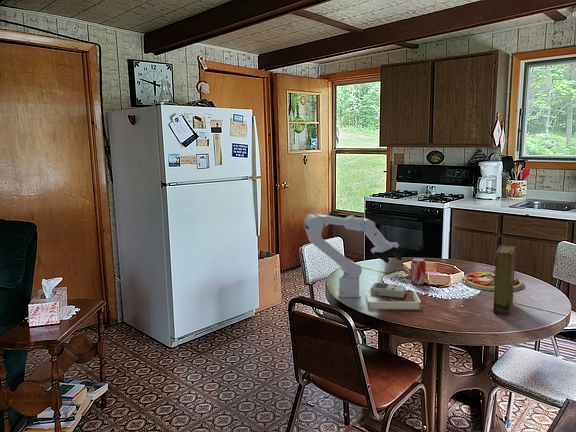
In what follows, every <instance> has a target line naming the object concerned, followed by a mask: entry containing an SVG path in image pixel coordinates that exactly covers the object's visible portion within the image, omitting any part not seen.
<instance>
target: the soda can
mask: <svg viewBox="0 0 576 432" xmlns="http://www.w3.org/2000/svg"><path fill="white" fill-rule="evenodd" d="M425 273H426V274H427V263H426V261H425V258H421V257H414V258H412V260H411V261H410V282H411V283H412V284H413V283H414V284H413V285H416V284H417V286H419V285H420V284H422V285H424V284H425V283H424V278H425V277H424V274H425ZM420 286H421V285H420Z"/></svg>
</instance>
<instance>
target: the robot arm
mask: <svg viewBox="0 0 576 432" xmlns="http://www.w3.org/2000/svg"><path fill="white" fill-rule="evenodd" d="M329 225H336V226H343V227H344V228H345V229H346V230H350V231H351V230H352V231H358V232H359V231H360V232H361V231H363V233H364V234H365V236H366V238H368V239H369V241H371V243H372V244H373V246H374V247H372V248H371V249H370V252H371V253H372V254H374V258H377V259H380V260H382V261H383V262H384V263H386V264H389V262H390V258H389V257H388V256H387V254H386V253H385V252H386V251H389V250H390V252H389V253H390V254H392V256H394V257H395V258H396V259H398V261H399V262H400V261H402V260H403V258H404V257H403V256H402V255H403V254H402V253H401V250H400V244H399V243H398V242H397V241H395V242H394V241H393V242H392V241H389V240H387V239H386V238H385V236H384V235H383V234H382V233H381V232H380V230H379V229H378V228H377V226H376V222H375V221H373V220H371V219H368V218H366V217H364V216H363V217H362V216H361V217H356V216H355V215H352V214H350V216H348V215H347V216H346V217H345V218H343V217H338V216H334V215H330V214H320V213H315V214H313V213H308V214H307V215H305V217H304V219H303V228H304V229H305V233H306V235H307V239H308V241H309V243H311V244H312V245H313V246H315V247H316V248H317V249H318V250H319V251H321V252H322V253H323V254H325V255H326V256H327V257H329V259H331V260H332V261H333V262H335V263H336V264H337V265H338V266H339V267H340V268H341V271H342V272H343V275H339V277H338V279H339V280H338V282H339V283H338V294H339V298H358V299H361V298H362V295H361V291H360V276H361V274H362V273H363V271H362V270H363V269H362V267H361V265H360V264H358V263H356V262H354V261H353V260H352V259H348V258H347V257H346V256H345V255H344V254H343V253H341V252H340V251H339V250H337V249H336V248H335V247H333V245H332V244H330V243H329V242H328V241H327V240H325V239H324V238H323V237H322V232H323V229H324V227H325V228H326V227H327V226H329Z"/></svg>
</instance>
